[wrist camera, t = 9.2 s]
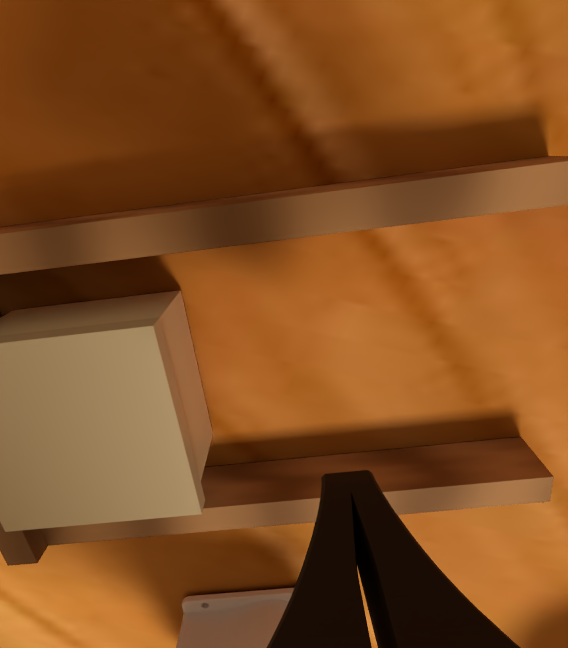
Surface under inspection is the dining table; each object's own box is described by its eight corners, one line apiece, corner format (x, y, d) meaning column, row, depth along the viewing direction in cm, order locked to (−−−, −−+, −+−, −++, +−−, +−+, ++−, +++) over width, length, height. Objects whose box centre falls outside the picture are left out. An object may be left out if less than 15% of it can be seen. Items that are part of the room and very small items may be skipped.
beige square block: (63, 454, 23) (5, 532, 18) (4, 304, 20) (-84, 352, 15) (219, 438, 23) (201, 514, 18) (185, 283, 19) (152, 325, 15)
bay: (50, 503, 25) (7, 565, 21) (-65, 235, 19) (-151, 255, 15) (518, 459, 23) (562, 518, 20) (549, 156, 17) (619, 157, 14)
